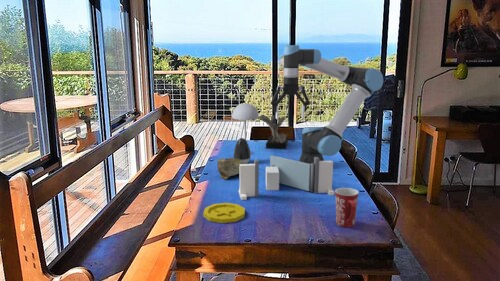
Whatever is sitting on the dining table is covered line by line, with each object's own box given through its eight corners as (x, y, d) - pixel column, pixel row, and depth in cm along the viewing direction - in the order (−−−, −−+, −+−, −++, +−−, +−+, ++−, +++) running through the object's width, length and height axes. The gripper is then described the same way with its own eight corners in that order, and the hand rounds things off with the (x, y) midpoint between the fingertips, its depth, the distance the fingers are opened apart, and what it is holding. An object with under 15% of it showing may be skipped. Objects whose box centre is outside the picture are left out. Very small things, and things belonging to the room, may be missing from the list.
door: (313, 191, 198) (315, 163, 194) (310, 193, 195) (311, 165, 192) (271, 180, 215) (272, 154, 211) (267, 181, 212) (268, 155, 209)
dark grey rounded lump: (231, 165, 242) (231, 139, 239) (236, 160, 252) (235, 135, 248) (248, 166, 240) (248, 140, 236) (252, 161, 249) (252, 136, 246)
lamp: (263, 152, 270) (263, 102, 263) (249, 158, 256) (249, 105, 249) (241, 149, 279) (241, 100, 272) (226, 154, 265) (226, 103, 258)
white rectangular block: (277, 183, 210) (277, 166, 208) (278, 190, 200) (279, 172, 198) (265, 183, 210) (265, 166, 208) (266, 190, 200) (266, 172, 198)
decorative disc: (201, 223, 164) (200, 218, 163) (207, 206, 181) (207, 202, 181) (243, 224, 163) (243, 219, 163) (245, 207, 180) (245, 203, 180)
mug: (330, 219, 167) (332, 187, 164) (352, 218, 168) (354, 187, 165) (339, 233, 155) (341, 199, 152) (363, 232, 155) (365, 198, 152)
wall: (327, 187, 204) (329, 154, 200) (334, 195, 194) (336, 160, 190) (238, 192, 197) (238, 157, 194) (241, 199, 188) (241, 163, 184)
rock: (211, 178, 217) (226, 182, 212) (213, 158, 216) (228, 162, 210) (233, 172, 233) (248, 176, 227) (235, 154, 231) (249, 157, 226)
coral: (285, 150, 275) (286, 118, 270) (255, 149, 279) (255, 117, 274) (289, 142, 299) (289, 112, 294) (261, 140, 303) (261, 111, 298)
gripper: (312, 75, 213) (311, 116, 218) (265, 76, 210) (264, 117, 214) (317, 76, 206) (315, 119, 211) (267, 77, 202) (267, 120, 207)
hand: (289, 118), depth 213 cm, fingers open, 13 cm apart
